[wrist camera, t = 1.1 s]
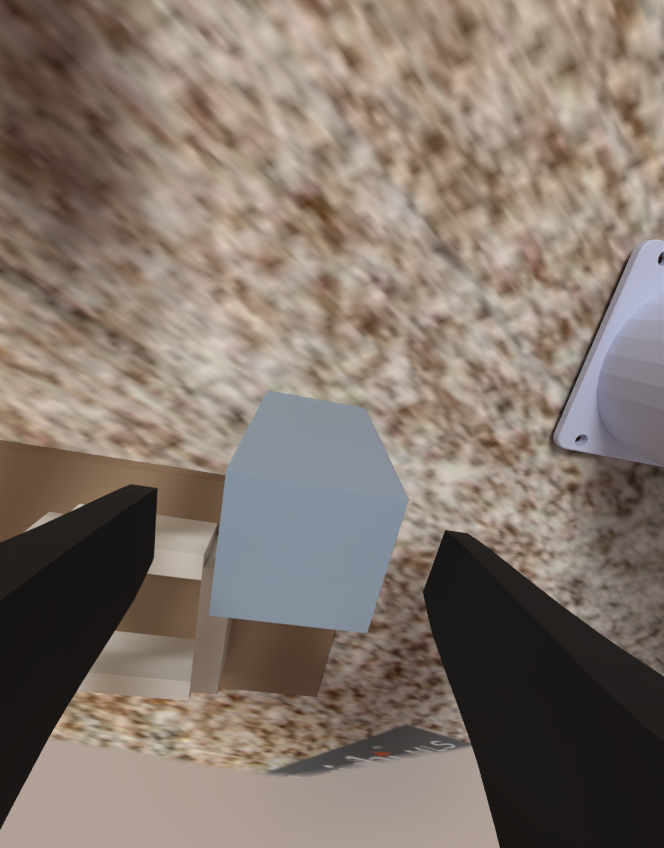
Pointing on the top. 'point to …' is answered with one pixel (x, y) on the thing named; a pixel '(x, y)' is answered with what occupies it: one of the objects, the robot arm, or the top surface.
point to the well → (164, 583)
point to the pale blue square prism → (306, 517)
